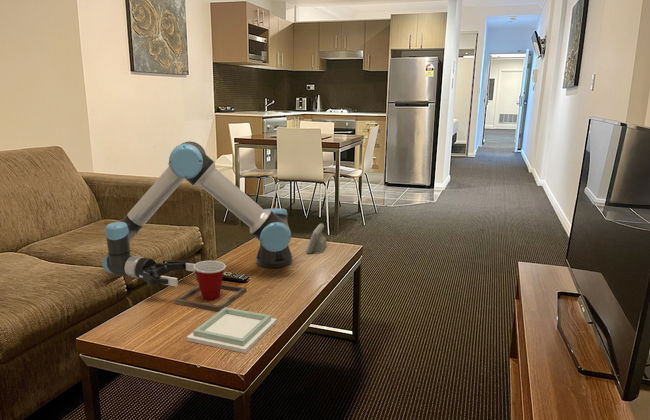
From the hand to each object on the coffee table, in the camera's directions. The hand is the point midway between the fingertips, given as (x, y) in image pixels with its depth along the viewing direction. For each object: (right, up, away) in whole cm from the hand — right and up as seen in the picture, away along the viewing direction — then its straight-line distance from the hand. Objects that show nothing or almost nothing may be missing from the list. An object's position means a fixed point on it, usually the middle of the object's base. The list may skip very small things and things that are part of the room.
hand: (189, 275), depth 160 cm
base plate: (+20, -13, -24) cm, 34 cm away
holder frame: (+8, -8, -1) cm, 11 cm away
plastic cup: (+8, -8, -1) cm, 11 cm away
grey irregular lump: (+43, +5, +51) cm, 67 cm away
